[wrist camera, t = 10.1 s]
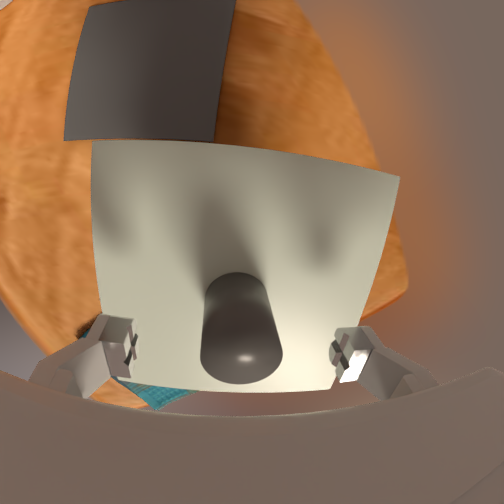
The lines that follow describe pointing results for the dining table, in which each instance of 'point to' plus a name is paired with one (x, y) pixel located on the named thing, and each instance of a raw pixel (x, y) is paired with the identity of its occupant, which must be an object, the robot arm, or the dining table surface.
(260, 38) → the dining table surface
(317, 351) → the lid
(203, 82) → the mat
